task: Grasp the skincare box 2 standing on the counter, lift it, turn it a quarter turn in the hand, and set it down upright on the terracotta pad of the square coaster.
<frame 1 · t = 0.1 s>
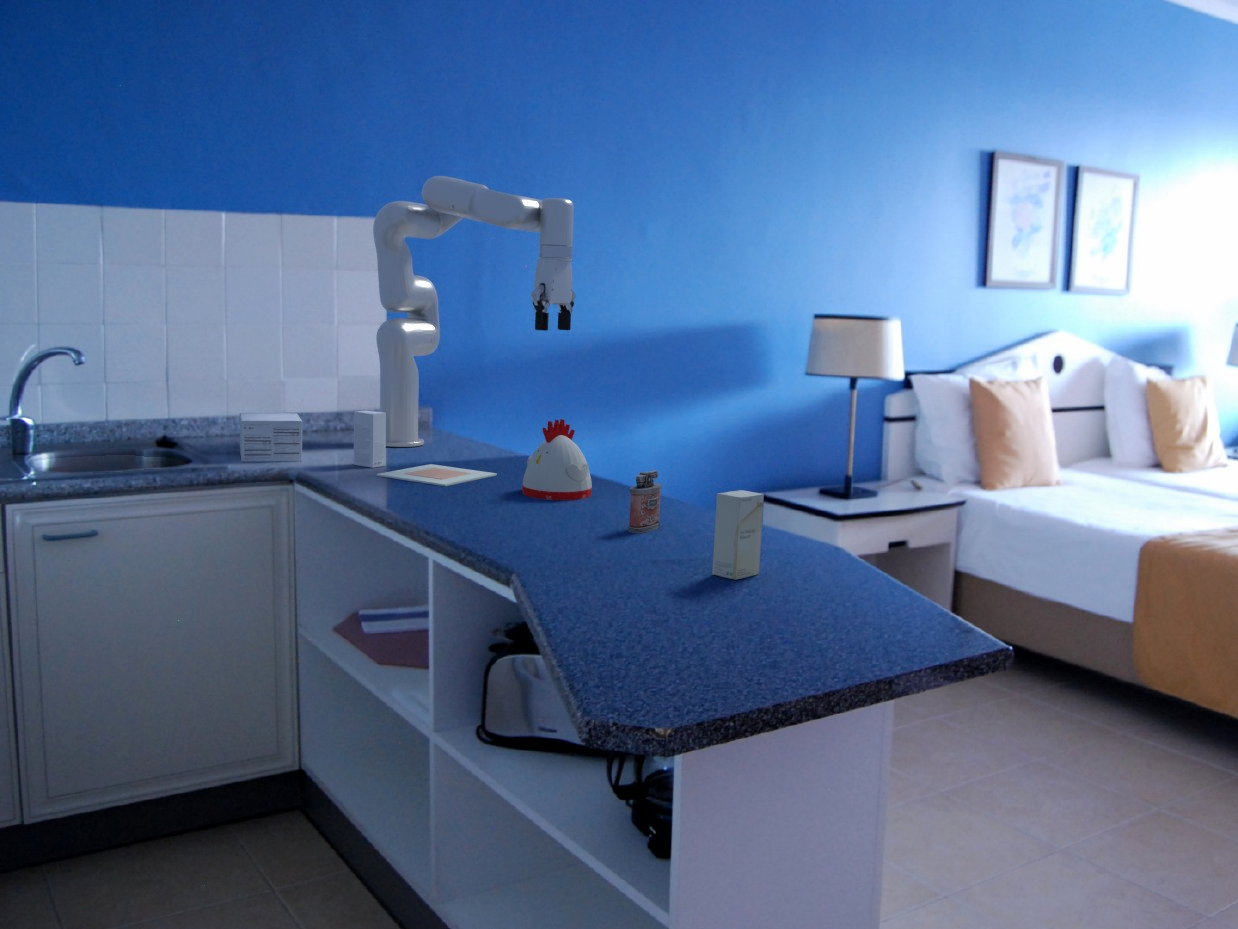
hand: (552, 330, 246), 31 cm above the counter, tool pointing down, fingers open, 9 cm apart
square coaster: (437, 475, 229), on the counter
skincare box: (735, 575, 157), on the counter
supplement box: (270, 457, 245), on the counter
lighter: (643, 529, 186), on the counter
kitchen timer: (556, 494, 215), on the counter
skincare box 2: (369, 466, 238), on the counter
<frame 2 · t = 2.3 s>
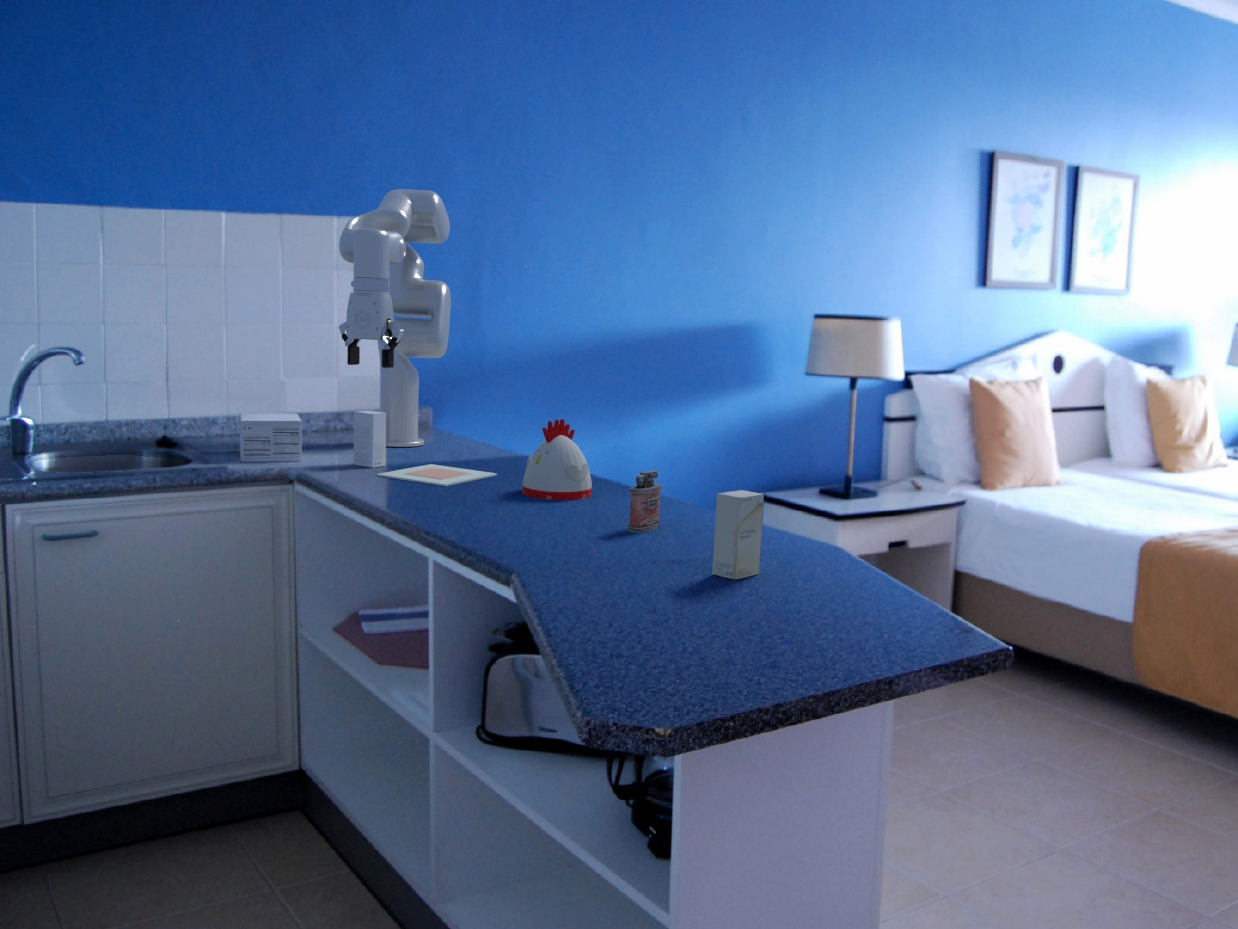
hand: (370, 366, 234), 22 cm above the counter, tool pointing down, fingers open, 9 cm apart
nothing on the counter moved.
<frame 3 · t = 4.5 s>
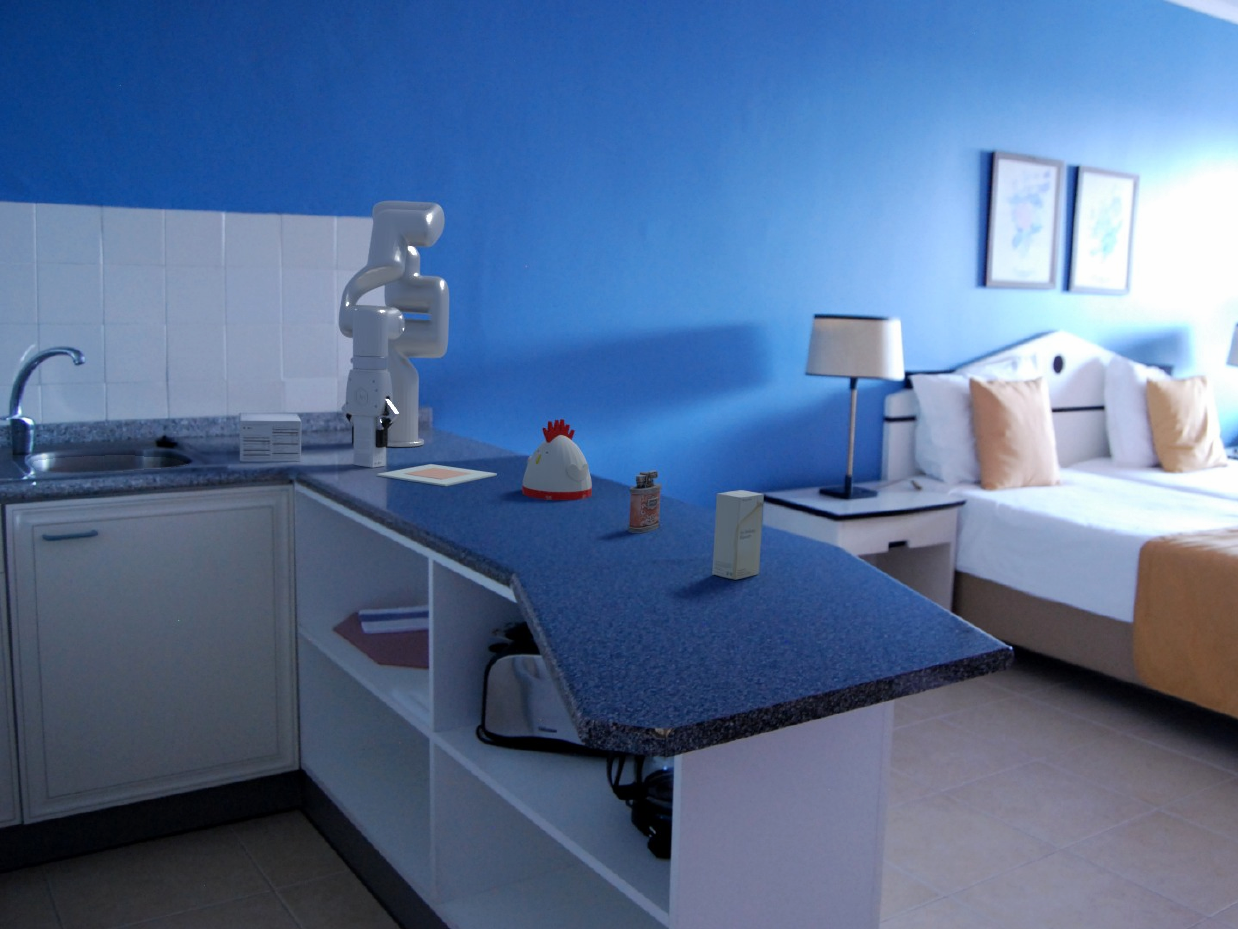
hand: (369, 444, 237), 5 cm above the counter, tool pointing down, fingers closed on skincare box 2, 6 cm apart
skincare box 2: (369, 466, 238), on the counter, touching gripper
everything else where it was.
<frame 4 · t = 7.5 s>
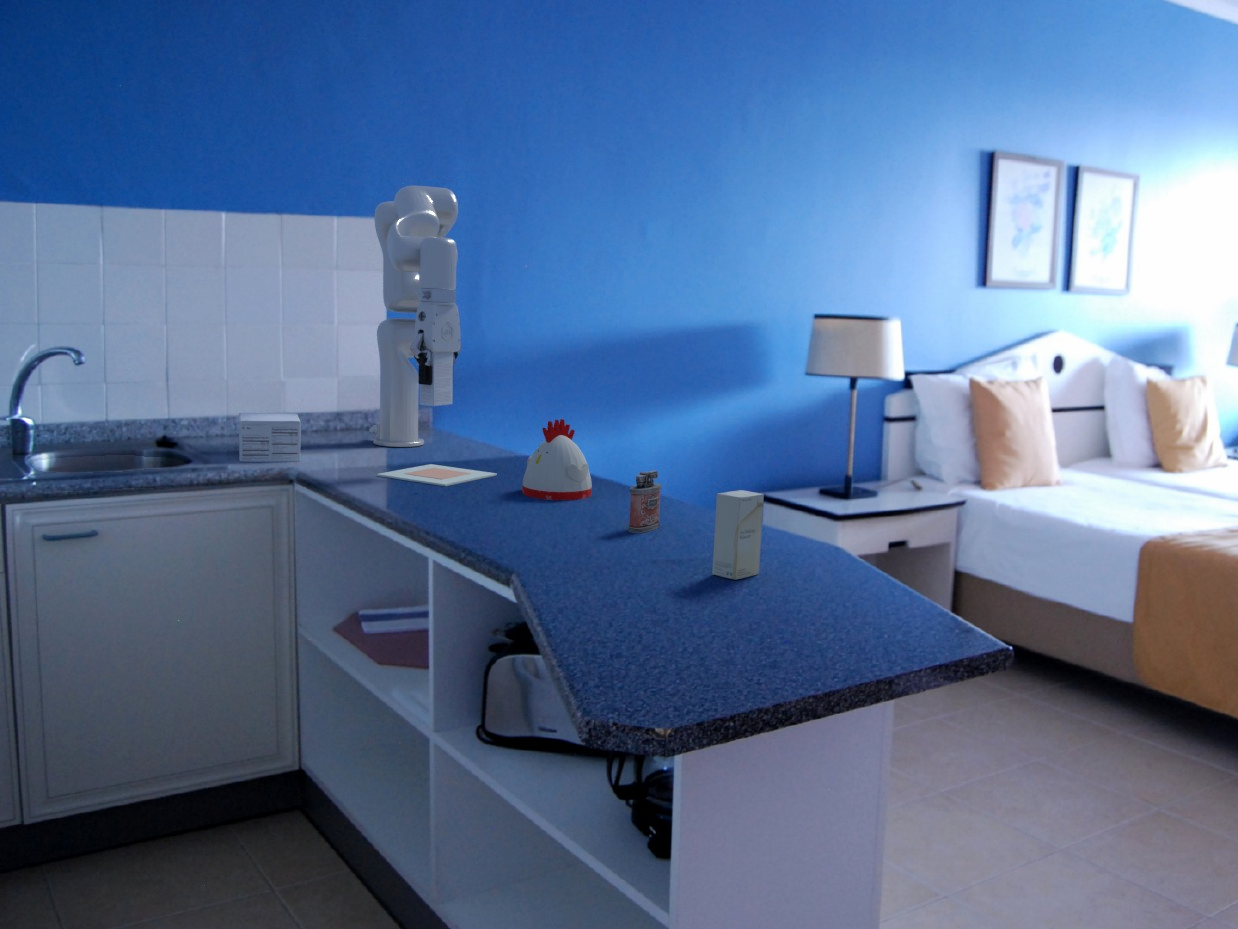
hand: (435, 382, 226), 20 cm above the counter, tool pointing down, fingers closed on skincare box 2, 6 cm apart
skincare box 2: (435, 405, 227), point 15 cm above the counter, touching gripper
everything else where it was.
when the fingers open (6 cm above the counter, at t = 10.7 s): skincare box 2 stays where it is, resting on square coaster.
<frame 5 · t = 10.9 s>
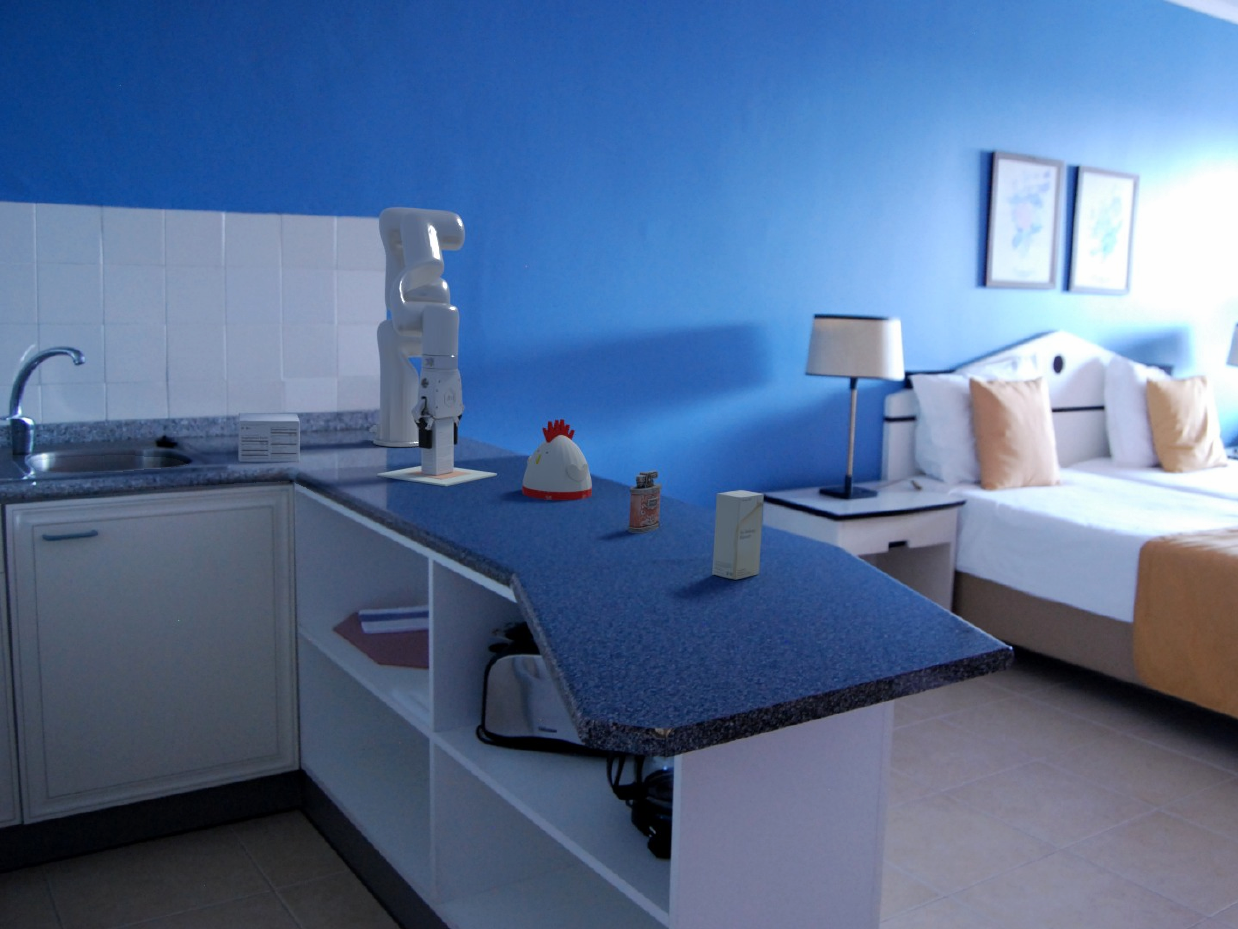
hand: (438, 445, 228), 6 cm above the counter, tool pointing down, fingers open, 8 cm apart
skincare box 2: (437, 473, 229), resting on square coaster
everything else where it was.
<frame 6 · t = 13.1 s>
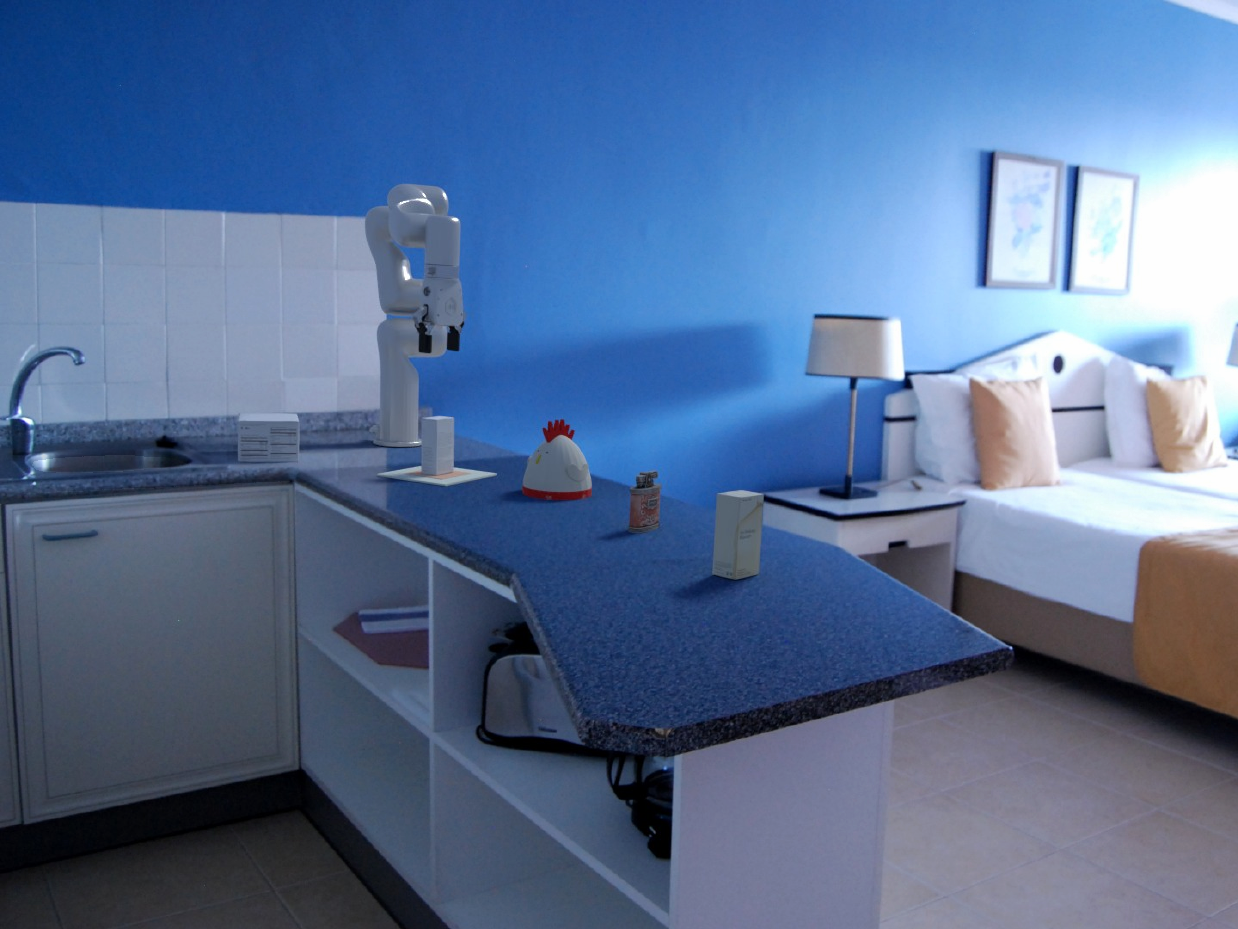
hand: (439, 351, 237), 26 cm above the counter, tool pointing down, fingers open, 9 cm apart
nothing on the counter moved.
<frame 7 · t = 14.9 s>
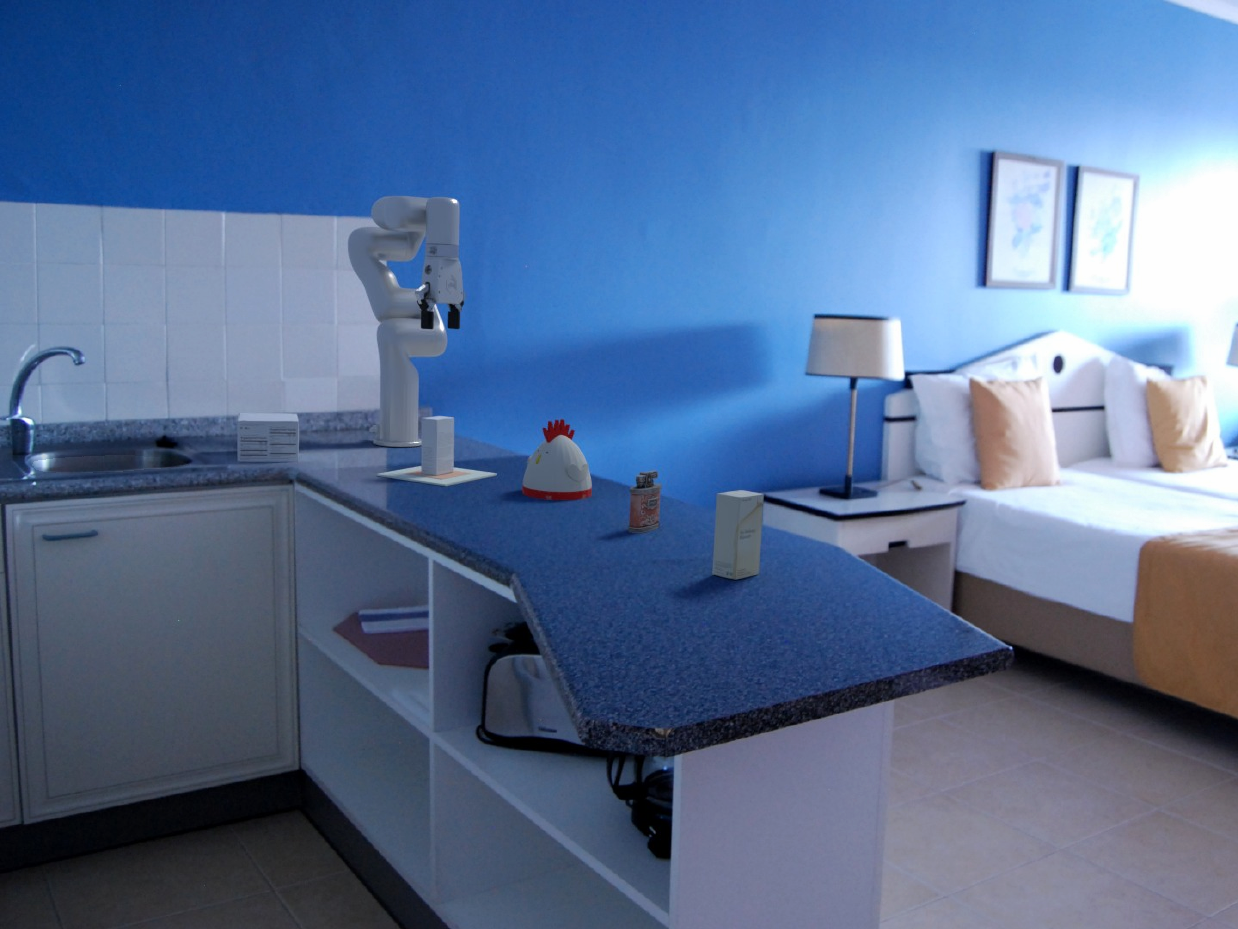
hand: (440, 328, 246), 30 cm above the counter, tool pointing down, fingers open, 9 cm apart
nothing on the counter moved.
at the end: skincare box 2 inside the target area (0.2 cm from its centre), resting on square coaster; skincare box 2 tilted 0°; the gripper is holding nothing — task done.
